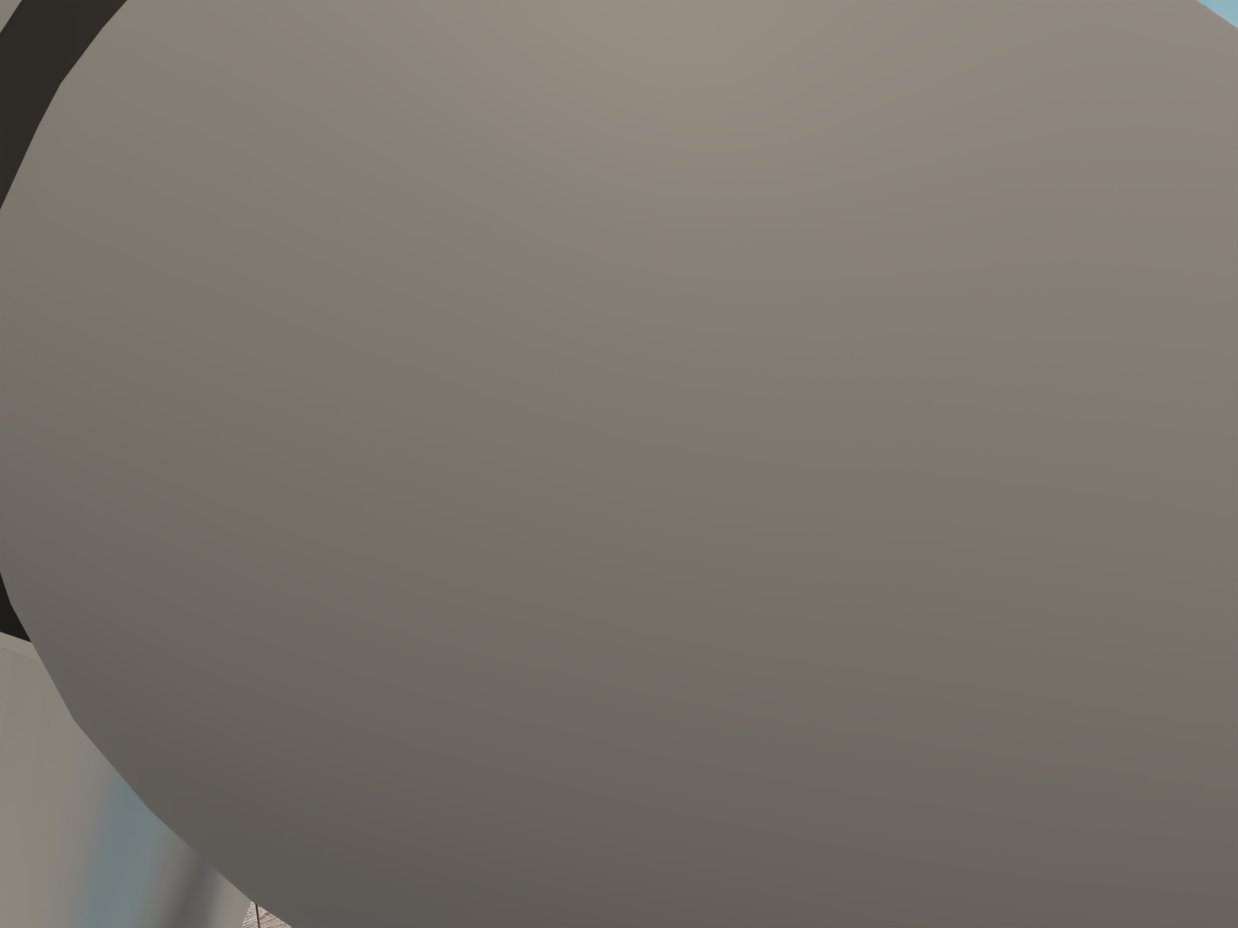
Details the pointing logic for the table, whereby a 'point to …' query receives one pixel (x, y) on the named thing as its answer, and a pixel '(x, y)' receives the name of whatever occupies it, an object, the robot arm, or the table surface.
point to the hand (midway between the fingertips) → (505, 272)
